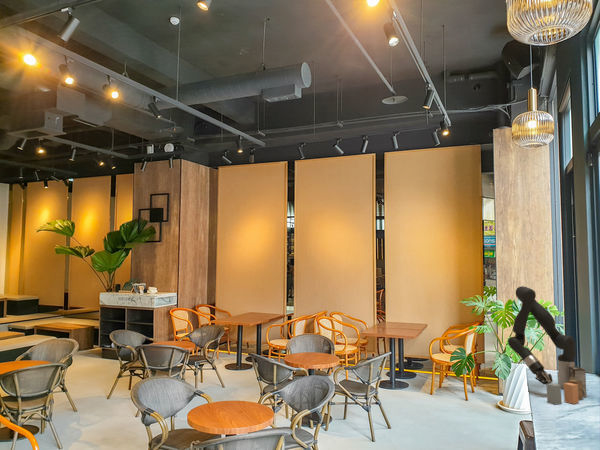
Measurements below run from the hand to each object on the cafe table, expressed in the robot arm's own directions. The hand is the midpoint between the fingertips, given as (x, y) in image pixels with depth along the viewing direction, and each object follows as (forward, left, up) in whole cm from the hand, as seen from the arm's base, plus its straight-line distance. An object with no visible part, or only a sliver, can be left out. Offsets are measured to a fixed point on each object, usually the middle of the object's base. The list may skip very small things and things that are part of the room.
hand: (553, 389), depth 266 cm
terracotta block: (+10, +3, -5) cm, 11 cm away
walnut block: (+3, +12, -5) cm, 13 cm away
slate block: (+10, -7, -5) cm, 13 cm away
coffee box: (-4, +19, -5) cm, 20 cm away
